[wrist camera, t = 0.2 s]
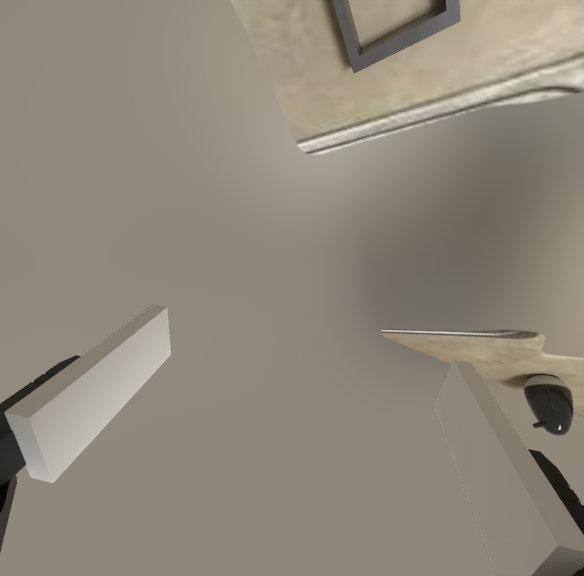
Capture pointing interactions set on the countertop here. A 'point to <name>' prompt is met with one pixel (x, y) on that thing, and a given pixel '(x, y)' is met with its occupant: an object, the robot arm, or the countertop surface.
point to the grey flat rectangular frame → (396, 39)
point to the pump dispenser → (550, 403)
